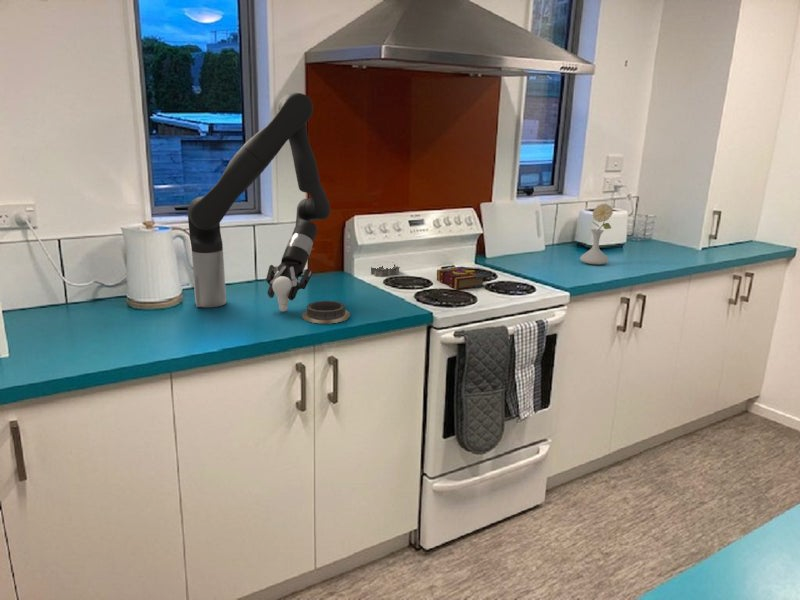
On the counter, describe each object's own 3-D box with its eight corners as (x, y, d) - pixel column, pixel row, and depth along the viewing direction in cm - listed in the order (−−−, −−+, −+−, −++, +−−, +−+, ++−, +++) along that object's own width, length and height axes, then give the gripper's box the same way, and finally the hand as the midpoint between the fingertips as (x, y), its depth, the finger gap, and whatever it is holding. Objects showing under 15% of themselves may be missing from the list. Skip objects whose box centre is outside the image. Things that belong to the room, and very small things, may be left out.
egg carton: (392, 271, 248) (392, 260, 246) (401, 275, 241) (402, 264, 240) (367, 273, 243) (367, 262, 242) (376, 278, 236) (376, 267, 235)
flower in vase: (573, 261, 266) (579, 201, 259) (595, 259, 271) (601, 200, 264) (595, 268, 255) (601, 205, 248) (617, 266, 259) (624, 204, 252)
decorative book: (457, 291, 221) (457, 277, 219) (434, 280, 234) (434, 267, 233) (484, 288, 225) (485, 274, 224) (460, 277, 239) (461, 264, 238)
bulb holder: (308, 326, 182) (307, 315, 181) (297, 312, 195) (297, 301, 194) (355, 321, 187) (355, 310, 186) (342, 307, 199) (342, 297, 198)
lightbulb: (269, 312, 194) (267, 277, 191) (281, 307, 199) (280, 273, 196) (285, 315, 191) (284, 280, 188) (297, 310, 196) (296, 275, 193)
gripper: (272, 242, 198) (254, 289, 191) (314, 246, 194) (297, 294, 187) (281, 256, 205) (264, 301, 197) (322, 260, 200) (306, 306, 193)
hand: (280, 297), depth 192 cm, fingers open, 6 cm apart
